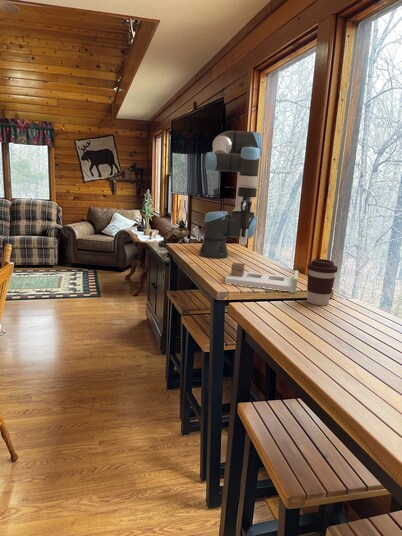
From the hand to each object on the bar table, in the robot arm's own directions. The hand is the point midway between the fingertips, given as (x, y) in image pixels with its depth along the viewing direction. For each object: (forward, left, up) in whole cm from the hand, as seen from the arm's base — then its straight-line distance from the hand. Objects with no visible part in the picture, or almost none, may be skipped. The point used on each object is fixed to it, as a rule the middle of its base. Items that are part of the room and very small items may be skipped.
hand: (242, 244), depth 162 cm
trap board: (+8, +9, -14) cm, 19 cm away
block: (+8, 0, -12) cm, 14 cm away
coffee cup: (+23, +31, -14) cm, 42 cm away
